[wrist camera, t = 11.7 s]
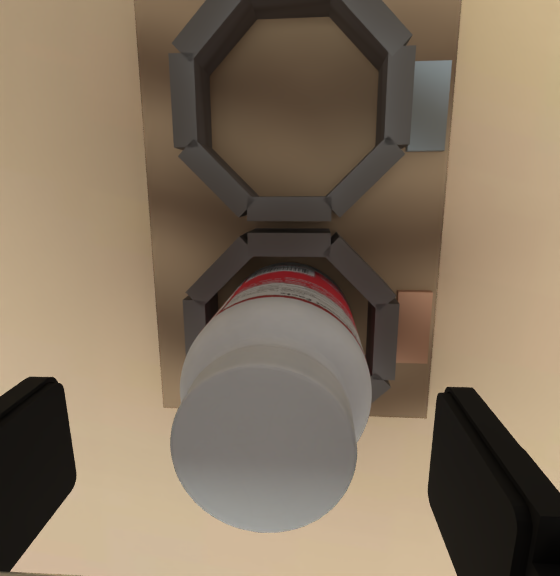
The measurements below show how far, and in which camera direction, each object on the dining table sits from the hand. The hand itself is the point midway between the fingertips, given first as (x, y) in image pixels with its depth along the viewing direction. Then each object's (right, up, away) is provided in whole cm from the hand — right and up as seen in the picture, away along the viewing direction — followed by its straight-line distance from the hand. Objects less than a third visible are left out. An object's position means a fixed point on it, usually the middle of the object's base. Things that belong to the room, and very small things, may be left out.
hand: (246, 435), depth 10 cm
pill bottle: (+1, +2, +11) cm, 11 cm away
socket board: (+1, +7, +11) cm, 13 cm away
